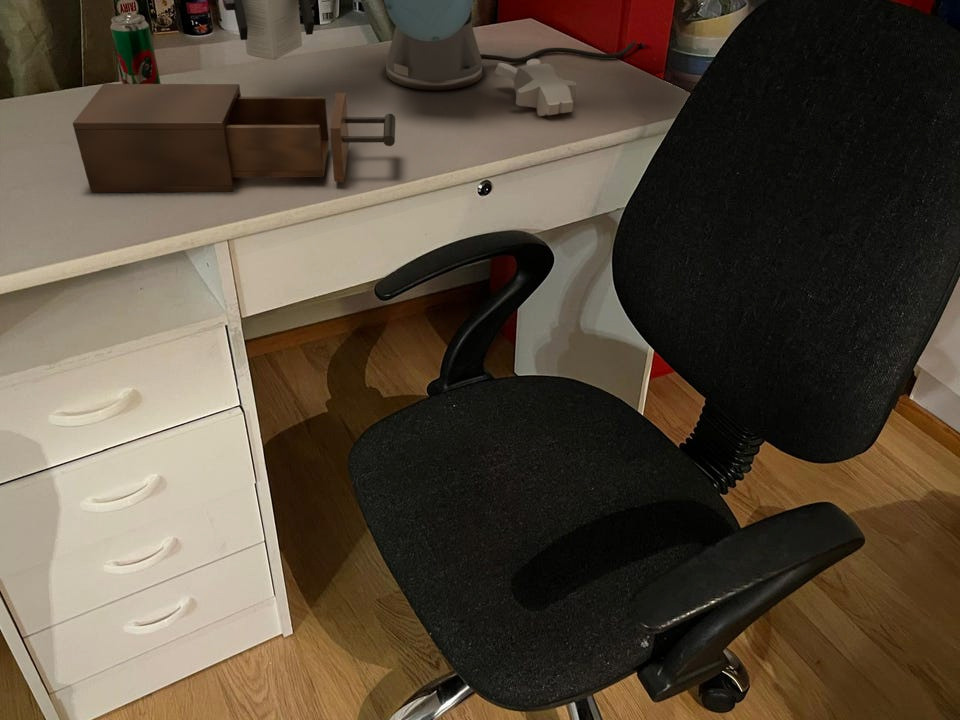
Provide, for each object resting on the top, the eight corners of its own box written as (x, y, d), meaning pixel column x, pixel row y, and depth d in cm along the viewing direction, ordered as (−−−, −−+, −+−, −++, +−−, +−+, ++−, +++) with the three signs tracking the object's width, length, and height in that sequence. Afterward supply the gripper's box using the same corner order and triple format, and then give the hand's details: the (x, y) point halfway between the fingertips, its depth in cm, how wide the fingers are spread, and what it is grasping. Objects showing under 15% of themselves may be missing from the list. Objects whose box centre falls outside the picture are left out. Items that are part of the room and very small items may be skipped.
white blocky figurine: (533, 97, 120) (489, 51, 129) (529, 130, 123) (486, 83, 133) (592, 88, 123) (545, 45, 133) (586, 121, 126) (541, 76, 136)
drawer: (396, 143, 114) (394, 92, 110) (395, 181, 105) (393, 127, 100) (229, 144, 112) (221, 92, 108) (213, 182, 103) (204, 128, 99)
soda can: (169, 99, 126) (153, 14, 119) (156, 112, 122) (138, 24, 115) (136, 97, 127) (117, 12, 119) (121, 109, 123) (101, 22, 115)
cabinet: (248, 148, 113) (239, 83, 108) (233, 191, 103) (222, 122, 98) (119, 149, 112) (103, 83, 107) (91, 192, 102) (72, 122, 97)
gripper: (317, -130, 109) (356, 40, 106) (152, -126, 103) (190, 54, 100) (323, -175, 101) (365, 7, 99) (146, -173, 96) (187, 20, 93)
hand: (277, 30), depth 100 cm, fingers closed on cosmetic box, 7 cm apart
